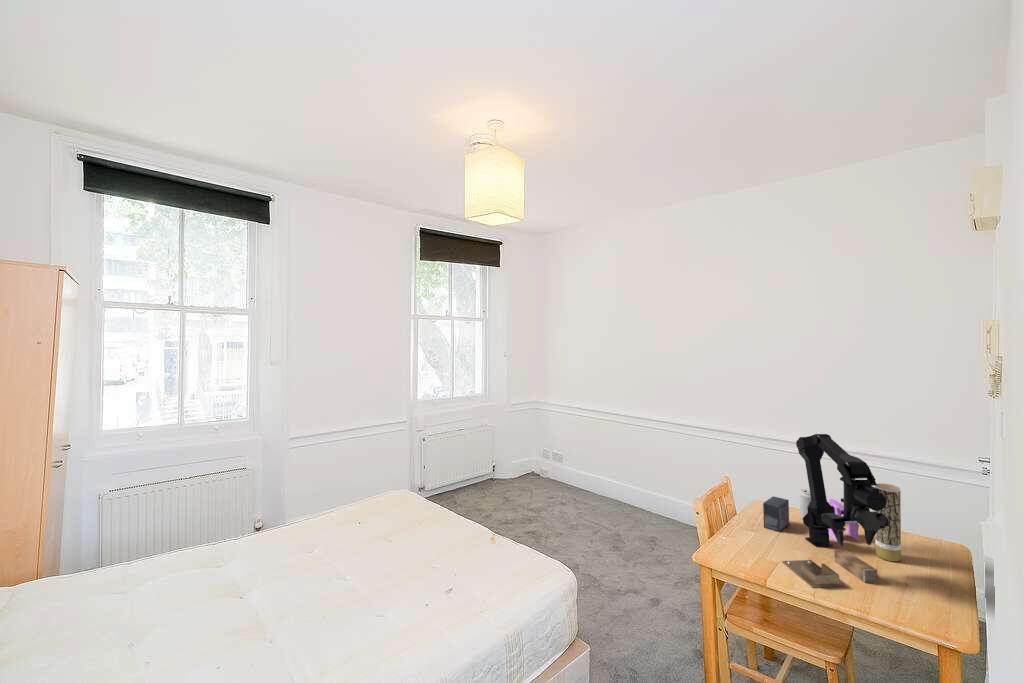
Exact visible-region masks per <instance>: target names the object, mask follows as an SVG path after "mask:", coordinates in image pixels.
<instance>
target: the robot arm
mask: <svg viewBox="0 0 1024 683" xmlns="http://www.w3.org/2000/svg"><path fill="white" fill-rule="evenodd" d="M795 444H796V448H797V450H798V454H799V456H801V457H802V459H803V460H804V463H805V470H806V475H807V483H808V490H810V495H811V501H810V503H809V505H808V513H807V514H806V515H805V516H804V517H803V519H802V521H803V525H805V526H806V527H807V528H808V536H807V537H805V538H804V540H806V541H807V542H809V543H810V544H811V545H813V546H815V547H821V548H822V547H834V544H833V543H832V542H830V536H829V530H828V529H832V531H833V533H834V535H835V537H836V539H837V541H836V542H837V543H838V545H839V546H841V547H843V545H844V531H845V532H846V531H847V530H846V529H847V528H845V527H846V524H845V523H852V522H858V524H859V526H860V527H862V529H863V530H864V539H865V543H866V544H867V545H869V546H871V545H872V543H873V540H874V539H875V538H874V537H875V534H876V533H877V531H878V530H880V529H884V528H885V527H884V526H889V520H888V518H887V517H886V516H885V515H884V514H883V513H877V512H875V511H880V510H882V509H883V508H884V507H885V506H886V503H887V501H886V499H885V497H884V495H882V494H881V493H879V489H878V488H876V487H875V486H876V485H877V484H878V483H877V481H876V477H875V476H874V475H873V472H872V470H871V468H870V466H869V465H868V464H867V463H866V462H865V461H864V460H862V459H861V458H859V457H857V456H854V455H851V454H849V453H848V452H847V451H845V449H843V447H841V446H840V445H839V444H838V443H837V442H835V440H833V439H832V437H831V435H830V434H828V433H814V434H812V435H809V436H800V437H799V438H798V439H797V440H796V442H795ZM825 454H826V456H828V457H829V459H831V460H832V461H833V462H835V463H836V470H837V471H838V472H839V474H840V475H841V477H840V478H839V480H840V481H841V482H843V497H842V498H840V502H841V503H842V504H843V505H844V510H841V514H843V515H844V516H841V517H840V516H838V515H836V514H835V508H834V507H833V506H831V505H830V503H829V501H828V499H827V494H826V493H827V492H826V487H825V483H824V475H823V471H822V470H823V469H822V464H821V460H822V458H823V457H824V455H825ZM871 510H872V511H871Z"/></svg>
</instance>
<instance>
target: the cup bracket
mask: <svg viewBox="0 0 1024 683" xmlns="http://www.w3.org/2000/svg"><path fill="white" fill-rule="evenodd" d="M781 563H782V564H783V565H784V566H785V567H787V568H788V569H789V570H790V571H792V572H793V573H794V574H795V575H796V576H798V577H799V578H800V579H801V580H802V581H803V582H805V583H806V584H807V585H809V587H811V588H812V589H814V588H835V587H837V588H838V587H840V588H841V587H844V585H845V584H844V583H842V582H841V581H840V574H839V573H838V572H836V571H834V569H832V568H830V567H829V566H828V565H826V564H825V563H821V566H819V565H818V564H817V563H816V562H814V561H813V560H811V559H803V560H800V559H799V560H797V559H796V560H782V562H781Z"/></svg>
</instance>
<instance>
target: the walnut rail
mask: <svg viewBox="0 0 1024 683" xmlns="http://www.w3.org/2000/svg"><path fill="white" fill-rule="evenodd" d="M834 563H835V564H837V565H839V566H840V567H841V568H842V569H845V571H847V572H848V573H850V574H851V575H852V576H854V577H855V578H857V579H859V580H860V581H862V582H863V583H864V584H874V583H879V582H878V579H879V578H878V569H877V568H875V567H873V566H872V565H870V564H868V563H867V562H866V561H864V560H862V559H860V558H859V557H857V556H856V555H855V554H853V553H851V552H849V551H848V550H847V549H840V550H839V549H837V550H834Z"/></svg>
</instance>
